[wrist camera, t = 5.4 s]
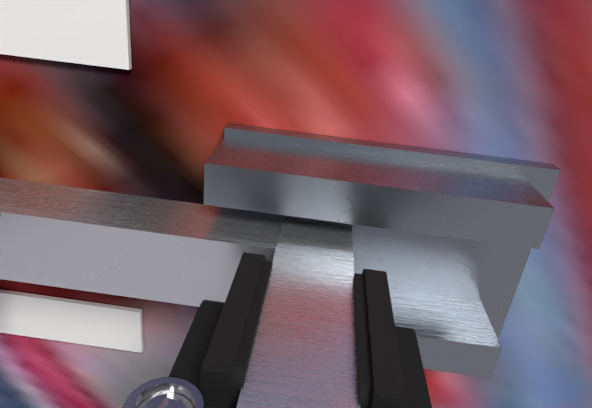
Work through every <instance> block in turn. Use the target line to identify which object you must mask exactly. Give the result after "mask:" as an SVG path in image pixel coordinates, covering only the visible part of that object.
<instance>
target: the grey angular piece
mask: <svg viewBox="0 0 592 408" xmlns="http://www.w3.org/2000/svg"><path fill="white" fill-rule="evenodd" d="M243 252H246V253H254V254H261V255H265V261H270V262H273V266H272V271H271V275H270V279H269V283H268V288H267V292H266V296H265V300H264V304H263V308H262V312H261V317H260V321H259V325H258V329H257V333H256V337H255V341H254V346H253V350H252V354H251V358H250V362H249V366H248V370H247V375H246V379H245V383H244V387H243V388H241V391H240V395H239V399H238V403H237V408H360V405H358V382H357V358H356V333H355V309H354V284H353V277H354V258H353V237H352V224H346V223H339V222H331V221H324V220H316V219H308V218H301V217H293V216H286V215H278V214H271V213H263V212H256V211H248V210H241V209H233V208H226V207H218V206H210V205H204V204H197V203H189V202H182V201H174V200H167V199H159V198H152V197H144V196H137V195H129V194H122V193H114V192H106V191H99V190H91V189H84V188H76V187H69V186H61V185H54V184H46V183H39V182H31V181H24V180H16V179H8V178H1V177H0V280H1V279H3V280H10V281H17V282H24V283H32V284H39V285H46V286H53V287H60V288H67V289H74V290H82V291H89V292H96V293H103V294H110V295H117V296H125V297H132V298H139V299H146V300H153V301H160V302H167V303H175V304H182V305H189V306H196V307H200V304H201V303H202V301H203V300H211V301H218V302H225V301H226V298H227V295H228V293H229V290H230V287H231V284H232V282H233V279H234V276H235V273H236V271H237V268H238V265H239V262H240V260H241V257H242V254H243Z"/></svg>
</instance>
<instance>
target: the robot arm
mask: <svg viewBox="0 0 592 408" xmlns="http://www.w3.org/2000/svg"><path fill="white" fill-rule="evenodd" d="M272 266H273V262H270V261H265V255H261V254H254V253H246V252H243V254H242V257H241V260H240V262H239V265H238V268H237V271H236V273H235V276H234V279H233V282H232V284H231V287H230V290H229V293H228V295H227V298H226V301H225V302H218V301H211V300H203V301H202V303H201V304H200V307H199V309H198V311H197V313H196V316H195V318H194V320H193V323H192V325H191V327H190V329H189V332H188V334H187V336H186V338H185V341H184V343H183V345H182V348H181V350H180V352H179V354H178V357H177V359H176V361H175V364H174V366H173V368H172V370H171V373H170V375H169V377H163V378H159V379H154V380H151V381H149V382H147V383H145V384H142V385H141V386H139V387H138V388H137V389H136V390H134V391H133V392H132V393H131V394H130V396H129V397H128V399H127V400H126V401H125V403H124V405H123V407H122V408H237V403H238V399H239V395H240V391H241V388H243V387H244V383H245V379H246V375H247V370H248V366H249V362H250V358H251V354H252V350H253V346H254V341H255V337H256V333H257V329H258V325H259V321H260V317H261V312H262V308H263V304H264V300H265V296H266V292H267V288H268V283H269V279H270V275H271V271H272ZM353 284H354V309H355V333H356V358H357V382H358V405H360V408H432V406H431V402H430V397H429V392H428V388H427V383H426V378H425V374H424V369H423V364H422V360H421V355H420V350H419V346H418V341H417V336H416V333H415V330H414V329H412V328H405V327H397V326H395V323H394V317H393V310H392V304H391V298H390V291H389V285H388V279H387V273H386V271H379V270H372V269H363V272H362V274H358V273H355V274H354V277H353Z"/></svg>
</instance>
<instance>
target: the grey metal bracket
mask: <svg viewBox="0 0 592 408" xmlns="http://www.w3.org/2000/svg"><path fill="white" fill-rule="evenodd" d="M559 172H560V170H559V169H558V168H557V167H556V166H555V165H553V164H546V163H538V162H530V161H522V160H514V159H507V158H499V157H491V156H483V155H475V154H467V153H459V152H451V151H443V150H436V149H428V148H420V147H412V146H404V145H396V144H388V143H380V142H372V141H364V140H357V139H349V138H341V137H333V136H325V135H317V134H309V133H301V132H293V131H285V130H278V129H270V128H262V127H254V126H246V125H238V124H230V123H228V124H227V125H226V127H225V131H224V138H223V139H222V141H221V142H220V143H219V145H218V146H217V147H216V149H215V150H214V151H213V153H212V154H211V155H210V157H209V158H208V159H207V160H206V162H205V164H204V205H210V206H218V207H226V208H233V209H241V210H248V211H256V212H263V213H271V214H278V215H286V216H293V217H301V218H308V219H316V220H324V221H331V222H339V223H346V224H352V237H353V258H354V274H355V273H358V274H362V272H363V269H372V270H379V271H386V273H387V279H388V285H389V291H390V298H391V304H392V310H393V317H394V323H395V326H397V327H405V328H412V329H414V330H415V333H416V336H417V341H418V346H419V350H420V355H421V360H422V364H423V369H430V370H437V371H444V372H451V373H458V374H465V375H472V376H479V377H486V378H491V375H492V372H493V370H494V367H495V364H496V362H497V359H498V356H499V354H500V351H501V345H500V343H499V341H498V337H499V335H500V332H501V329H502V326H503V324H504V321H505V318H506V316H507V313H508V310H509V307H510V305H511V302H512V299H513V297H514V294H515V291H516V288H517V286H518V283H519V280H520V278H521V275H522V272H523V269H524V267H525V264H526V261H527V259H528V256H529V253H530V251H531V248H535V249H539V248H540V245H541V242H542V240H543V237H544V234H545V232H546V229H547V226H548V224H549V221H550V219H551V216H552V213H553V211H554V208H553V207H552V205H551V204H550V203H549V199H550V196H551V194H552V191H553V188H554V185H555V183H556V180H557V177H558V175H559Z"/></svg>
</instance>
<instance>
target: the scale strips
mask: <svg viewBox="0 0 592 408" xmlns="http://www.w3.org/2000/svg"><path fill="white" fill-rule="evenodd" d="M0 54H4V55H13V56H21V57H29V58H37V59H45V60H53V61H61V62H69V63H77V64H85V65H93V66H101V67H110V68H118V69H126V70H130V69H132V65H131V42H130V19H129V0H0ZM0 333H7V334H14V335H21V336H28V337H35V338H42V339H49V340H56V341H63V342H70V343H77V344H84V345H91V346H98V347H105V348H112V349H119V350H126V351H133V352H140V353H142V352H143V350H144V341H143V318H142V309H137V308H130V307H123V306H116V305H109V304H102V303H95V302H88V301H80V300H73V299H66V298H59V297H52V296H45V295H38V294H31V293H24V292H16V291H9V290H2V289H0Z"/></svg>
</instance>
